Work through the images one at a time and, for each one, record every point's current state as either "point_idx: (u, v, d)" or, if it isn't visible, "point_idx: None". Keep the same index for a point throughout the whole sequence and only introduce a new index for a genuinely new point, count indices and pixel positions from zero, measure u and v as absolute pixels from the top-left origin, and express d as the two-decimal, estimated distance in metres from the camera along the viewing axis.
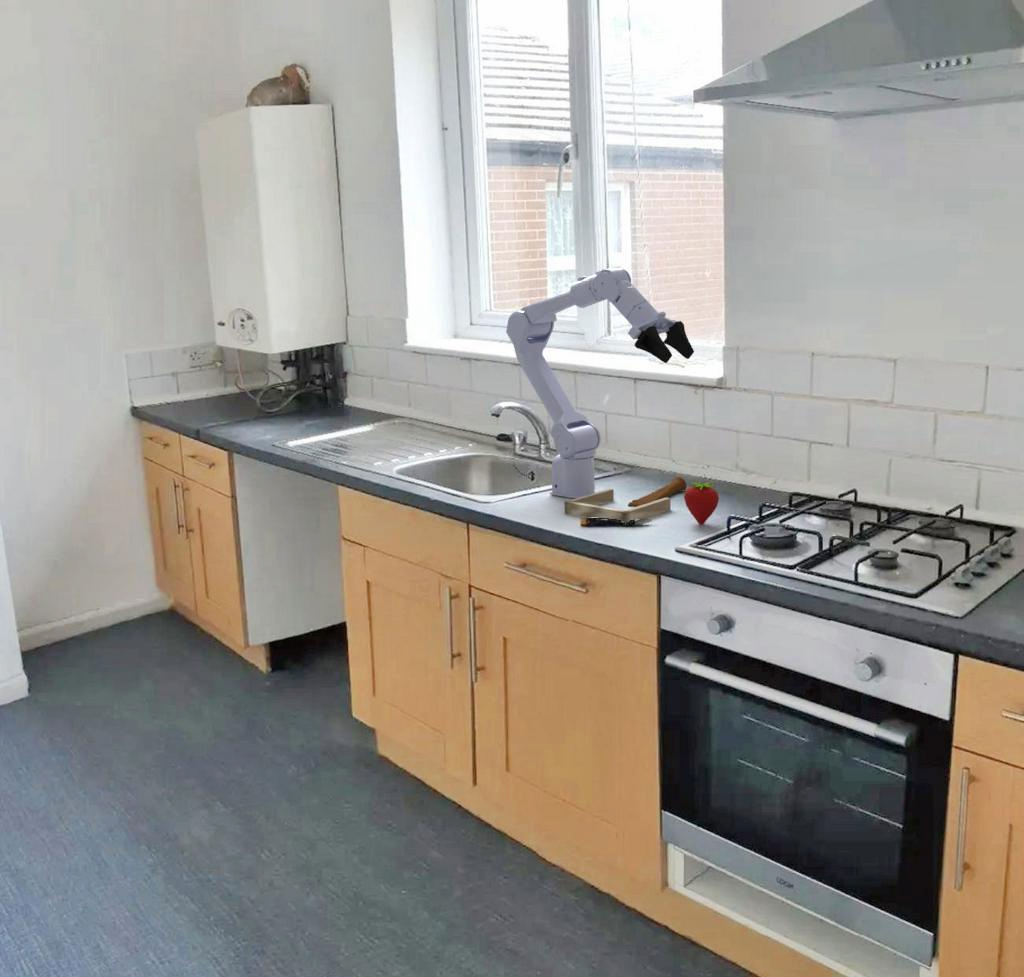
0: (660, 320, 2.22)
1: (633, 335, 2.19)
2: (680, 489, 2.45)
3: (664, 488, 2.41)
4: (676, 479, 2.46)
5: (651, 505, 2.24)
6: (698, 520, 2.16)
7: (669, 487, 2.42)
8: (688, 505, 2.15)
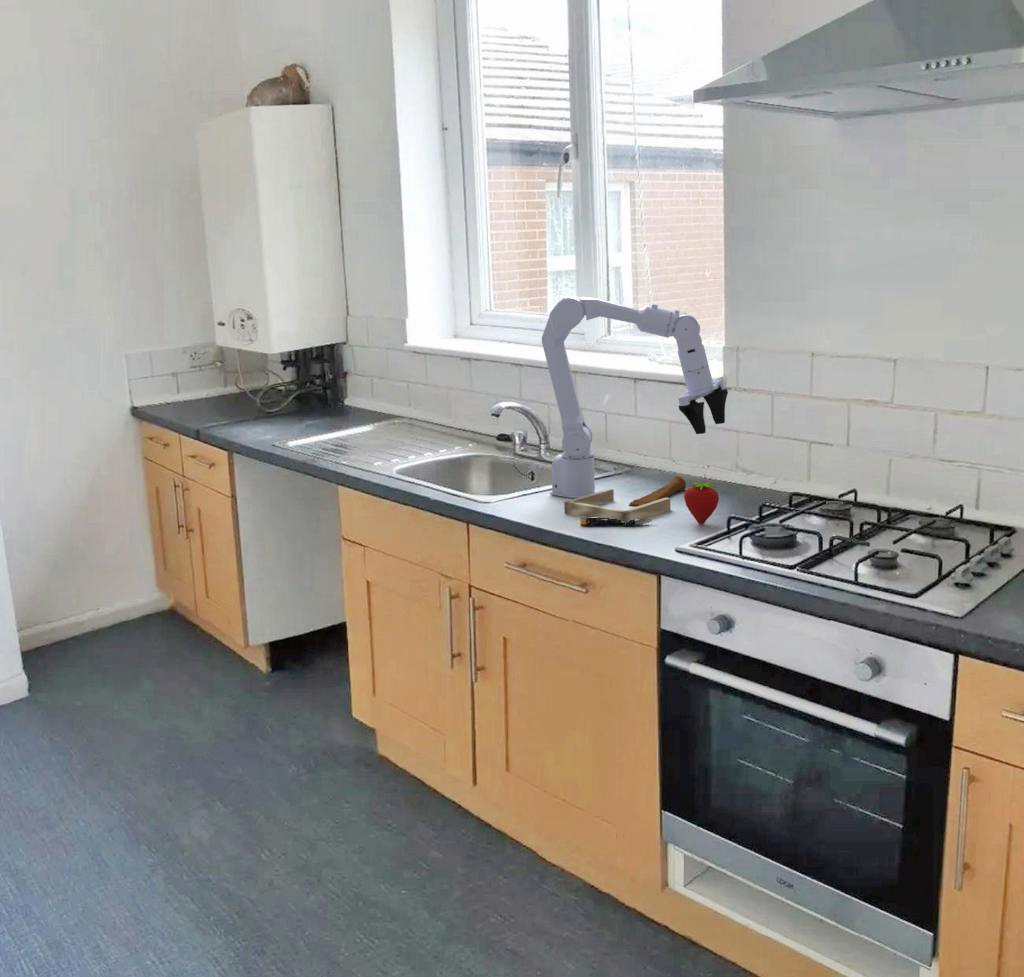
0: None
1: (681, 403, 2.34)
2: (680, 488, 2.45)
3: (664, 488, 2.42)
4: (675, 479, 2.46)
5: (651, 505, 2.24)
6: (698, 520, 2.16)
7: (669, 487, 2.42)
8: (688, 505, 2.15)
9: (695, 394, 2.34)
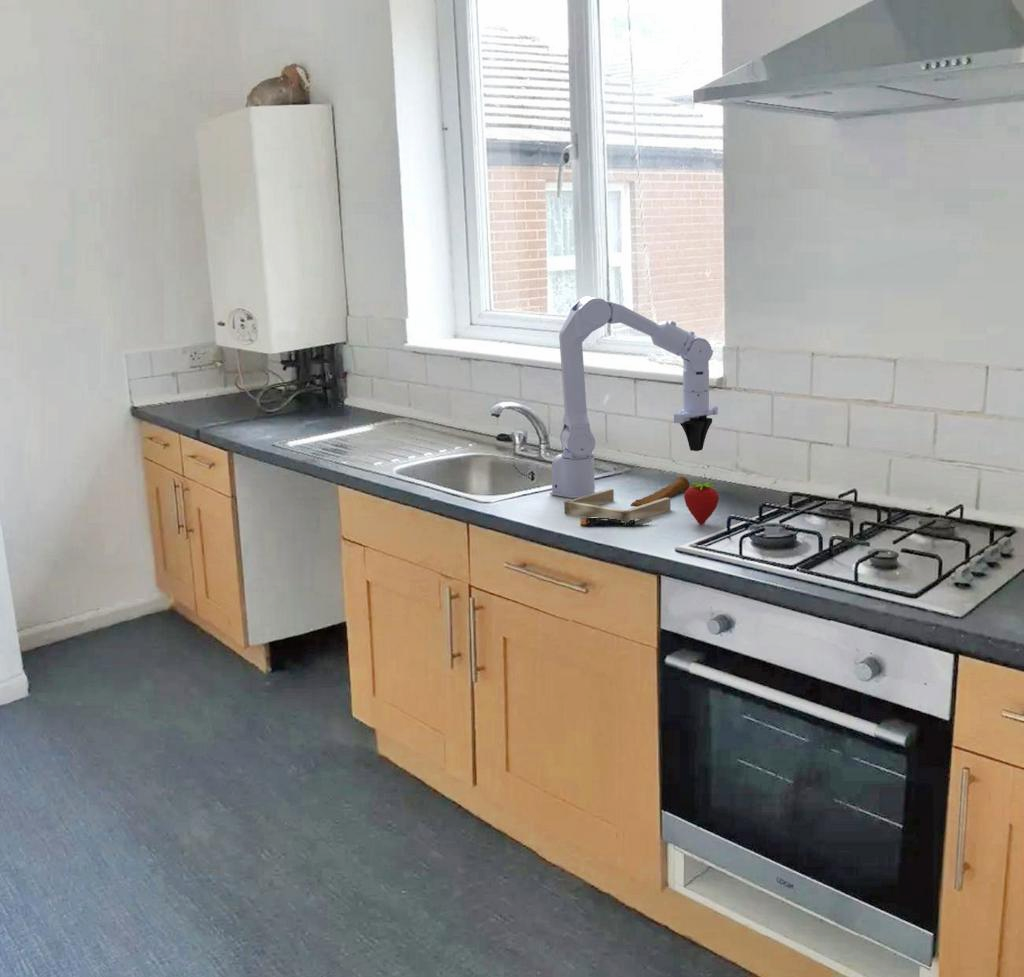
0: None
1: (676, 420, 2.42)
2: (683, 489, 2.45)
3: (667, 488, 2.42)
4: (679, 479, 2.46)
5: (651, 505, 2.24)
6: (698, 520, 2.16)
7: (672, 487, 2.42)
8: (688, 505, 2.15)
9: (690, 415, 2.42)
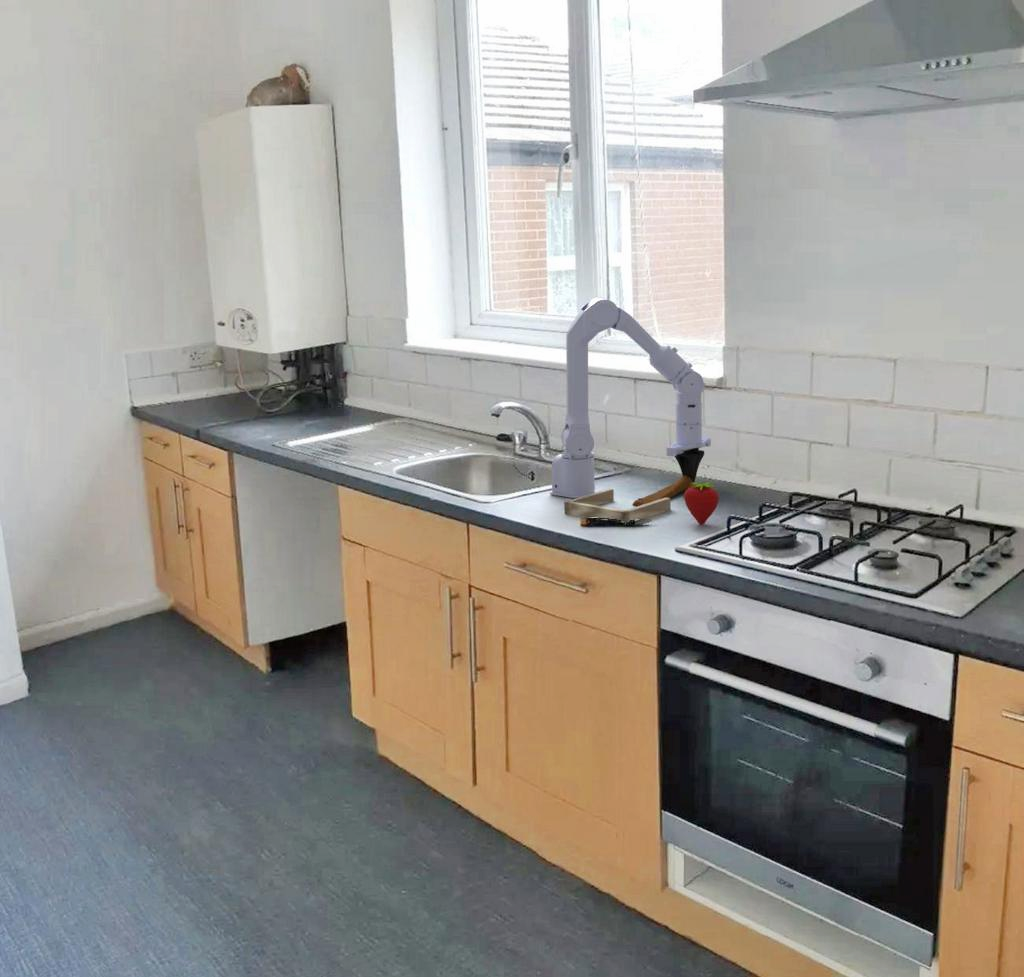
0: None
1: (668, 453, 2.41)
2: (687, 488, 2.45)
3: (670, 487, 2.41)
4: (683, 478, 2.46)
5: (651, 505, 2.24)
6: (698, 520, 2.16)
7: (675, 486, 2.41)
8: (688, 505, 2.15)
9: (683, 448, 2.41)
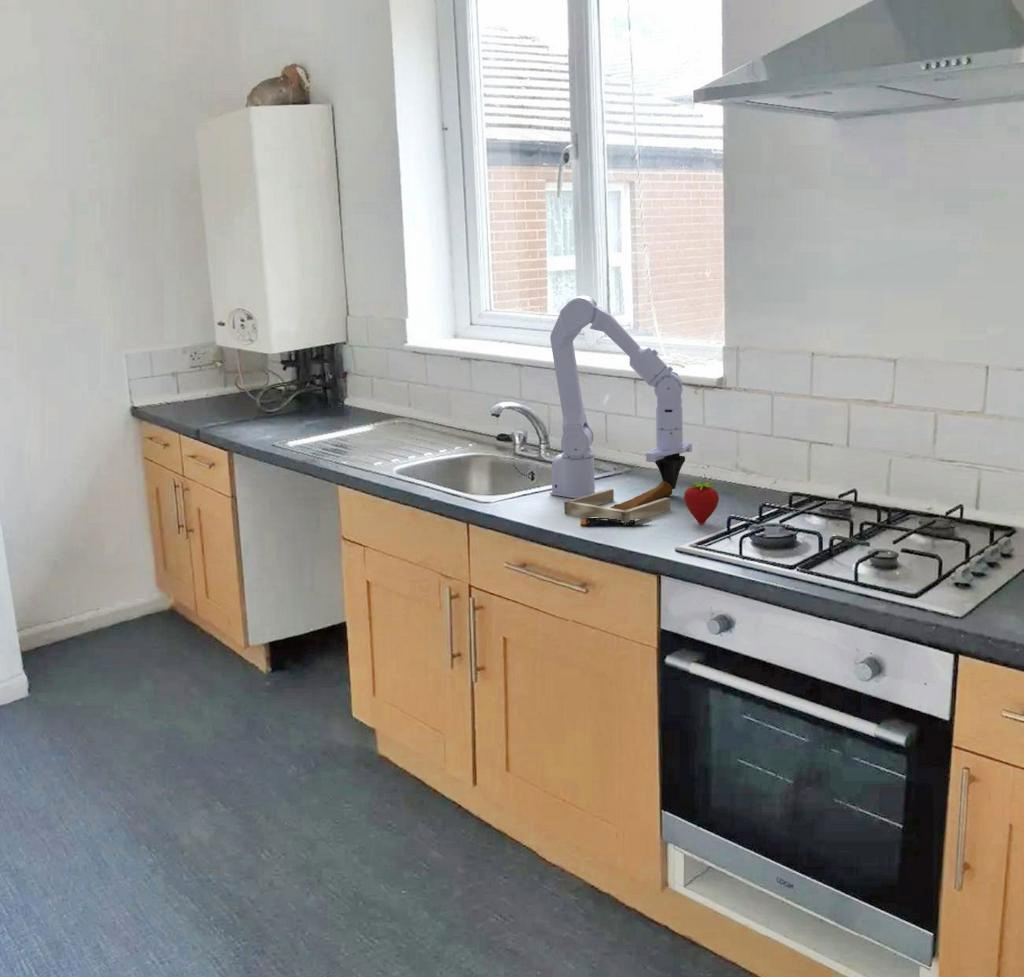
0: None
1: (648, 459, 2.36)
2: (666, 493, 2.40)
3: (648, 492, 2.36)
4: (662, 483, 2.40)
5: (651, 505, 2.24)
6: (698, 520, 2.16)
7: (653, 492, 2.36)
8: (688, 505, 2.15)
9: (663, 453, 2.36)
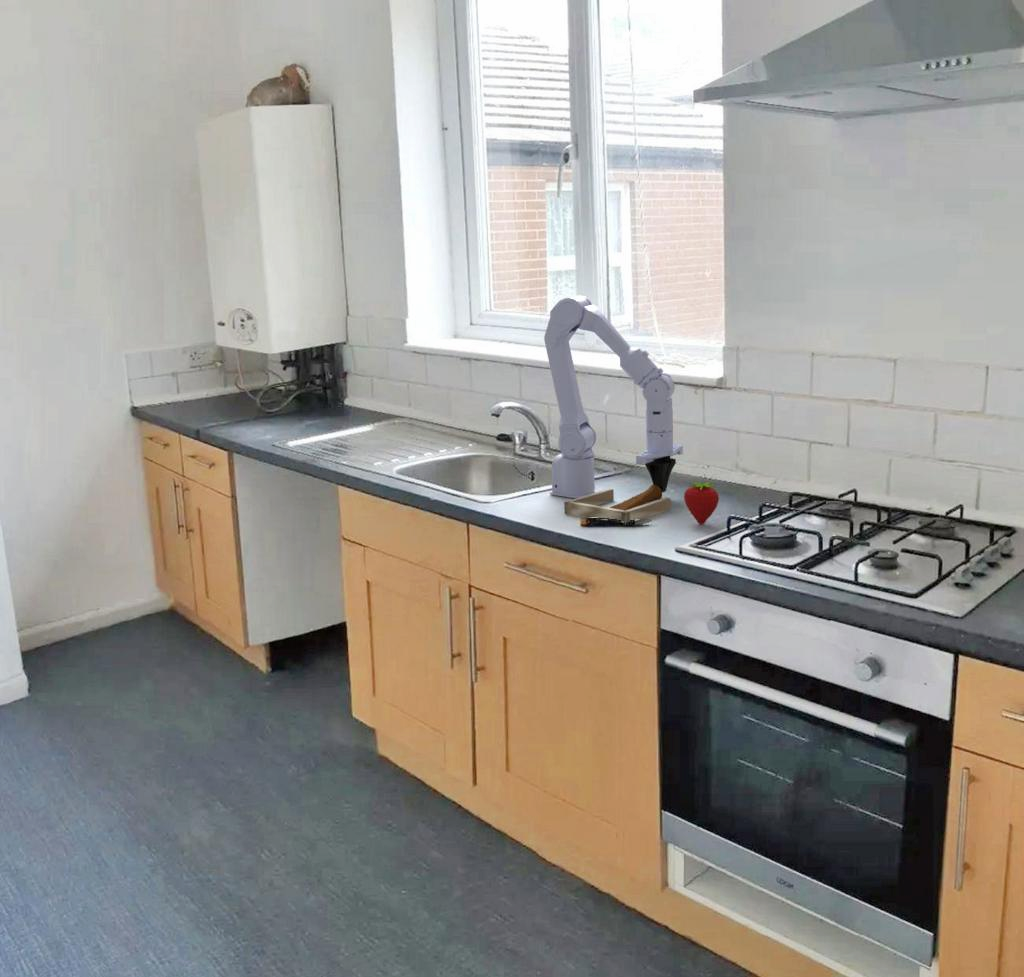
0: None
1: (638, 462, 2.33)
2: (655, 497, 2.37)
3: (637, 496, 2.34)
4: (651, 487, 2.38)
5: (651, 505, 2.24)
6: (698, 520, 2.16)
7: (642, 495, 2.34)
8: (688, 505, 2.15)
9: (653, 456, 2.34)
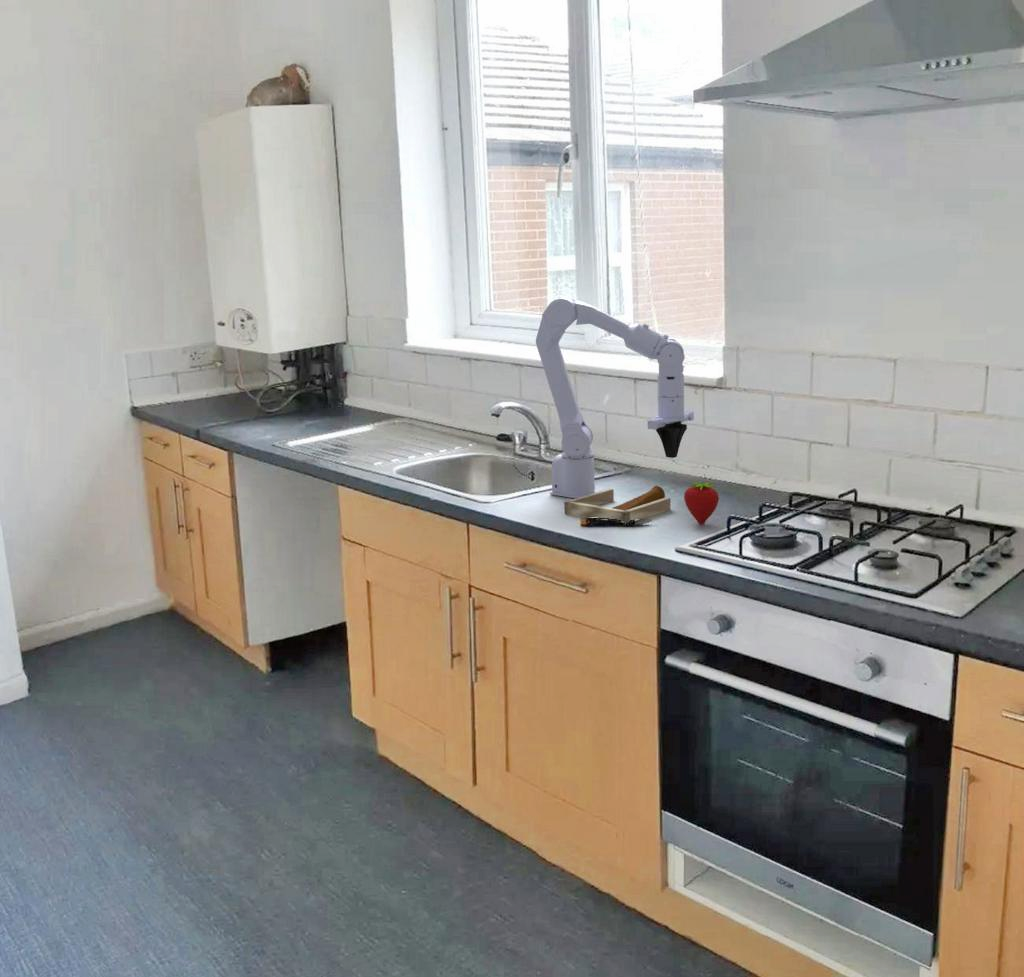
0: None
1: (649, 427, 2.35)
2: (658, 498, 2.37)
3: (640, 497, 2.34)
4: (654, 488, 2.38)
5: (651, 505, 2.24)
6: (698, 520, 2.16)
7: (644, 496, 2.34)
8: (688, 505, 2.15)
9: (664, 421, 2.35)
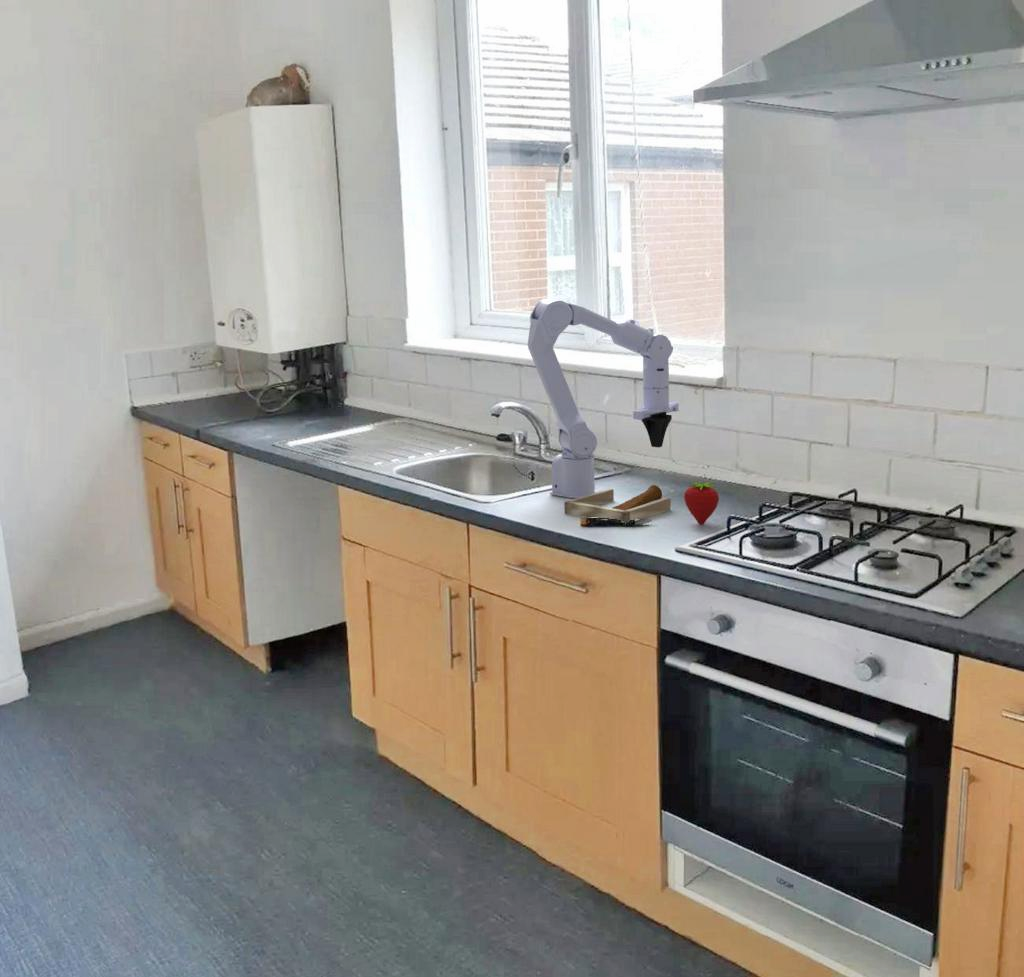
0: None
1: (635, 417, 2.42)
2: (655, 497, 2.38)
3: (638, 497, 2.34)
4: (651, 487, 2.39)
5: (651, 505, 2.24)
6: (698, 520, 2.16)
7: (643, 496, 2.35)
8: (688, 505, 2.15)
9: (650, 411, 2.43)
